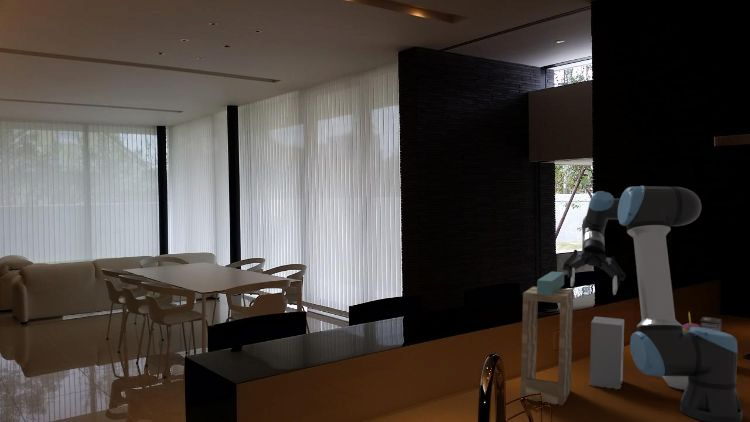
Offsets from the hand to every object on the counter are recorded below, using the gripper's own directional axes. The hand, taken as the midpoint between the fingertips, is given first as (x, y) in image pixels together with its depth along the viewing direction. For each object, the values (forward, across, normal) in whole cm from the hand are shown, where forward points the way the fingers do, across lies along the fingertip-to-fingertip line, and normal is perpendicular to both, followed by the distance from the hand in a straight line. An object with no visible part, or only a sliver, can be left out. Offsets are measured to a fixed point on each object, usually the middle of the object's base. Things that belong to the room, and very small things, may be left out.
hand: (593, 287), depth 203 cm
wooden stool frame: (+38, +12, -12) cm, 41 cm away
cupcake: (-42, -53, -57) cm, 89 cm away
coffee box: (-10, -48, -35) cm, 60 cm away
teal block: (+16, +15, +11) cm, 25 cm away
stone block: (+22, -8, -19) cm, 30 cm away
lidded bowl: (+18, -30, -18) cm, 40 cm away
